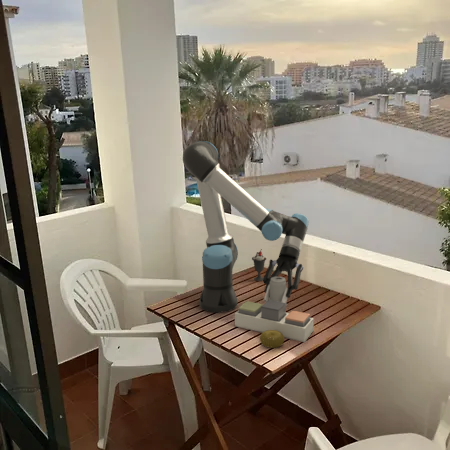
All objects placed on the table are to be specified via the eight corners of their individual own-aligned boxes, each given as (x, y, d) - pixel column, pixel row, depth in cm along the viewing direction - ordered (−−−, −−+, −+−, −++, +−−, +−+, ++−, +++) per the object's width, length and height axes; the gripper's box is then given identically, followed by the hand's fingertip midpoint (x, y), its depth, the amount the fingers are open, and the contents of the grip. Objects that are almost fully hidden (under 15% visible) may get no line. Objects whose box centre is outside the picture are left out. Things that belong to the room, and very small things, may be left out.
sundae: (262, 282, 210) (262, 250, 207) (249, 280, 214) (249, 248, 210) (269, 278, 216) (269, 247, 212) (256, 275, 219) (256, 245, 215)
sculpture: (271, 341, 149) (254, 332, 155) (271, 352, 150) (255, 343, 156) (289, 333, 154) (272, 325, 160) (289, 344, 155) (272, 336, 161)
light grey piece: (234, 326, 168) (234, 313, 167) (246, 316, 176) (245, 304, 175) (304, 342, 156) (304, 328, 155) (313, 331, 163) (313, 318, 162)
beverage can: (288, 306, 180) (288, 277, 177) (283, 312, 174) (283, 282, 171) (272, 303, 182) (272, 275, 180) (267, 310, 177) (267, 280, 174)
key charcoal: (261, 322, 164) (261, 306, 162) (268, 315, 169) (269, 299, 168) (278, 326, 161) (278, 309, 159) (285, 318, 166) (285, 303, 165)
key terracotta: (285, 333, 160) (285, 317, 159) (292, 326, 166) (292, 310, 164) (303, 337, 157) (303, 321, 156) (309, 329, 162) (309, 314, 161)
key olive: (238, 322, 169) (238, 307, 167) (246, 316, 174) (246, 301, 173) (255, 326, 166) (254, 310, 164) (262, 319, 171) (262, 304, 170)
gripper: (316, 257, 182) (300, 311, 173) (271, 251, 192) (254, 302, 182) (312, 248, 177) (295, 303, 167) (265, 242, 186) (247, 294, 176)
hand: (274, 302), depth 174 cm, fingers closed on beverage can, 6 cm apart
